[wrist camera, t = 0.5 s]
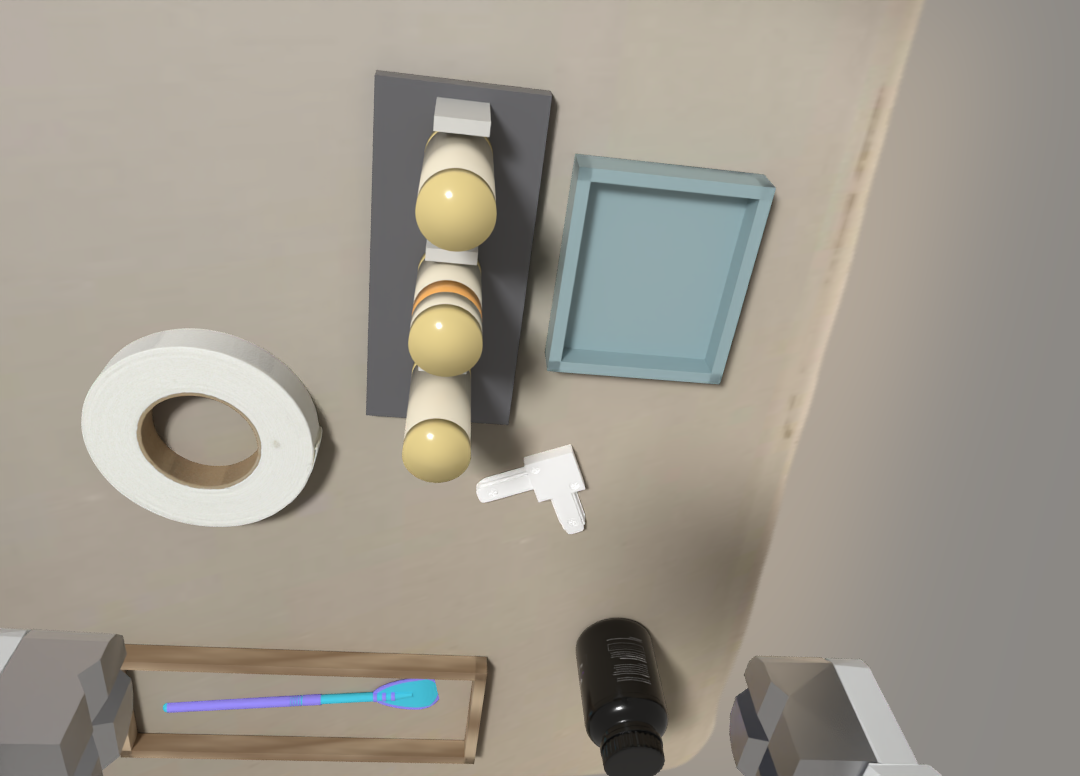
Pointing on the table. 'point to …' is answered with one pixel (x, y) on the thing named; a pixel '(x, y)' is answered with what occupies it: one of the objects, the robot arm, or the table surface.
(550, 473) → the corner connector
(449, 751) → the wooden frame
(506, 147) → the clip block
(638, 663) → the supplement bottle
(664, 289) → the tray
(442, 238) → the fuse
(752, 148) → the table surface
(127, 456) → the roll of tape
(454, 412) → the fuse
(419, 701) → the spoon
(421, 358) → the cylinder
